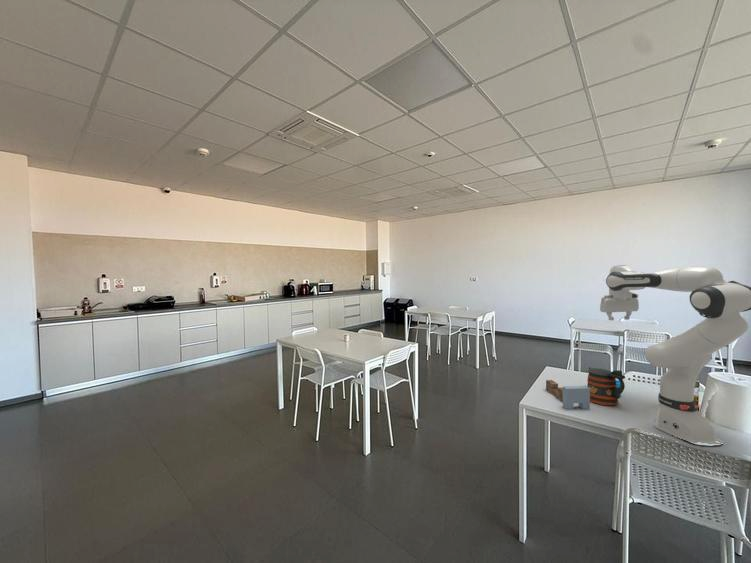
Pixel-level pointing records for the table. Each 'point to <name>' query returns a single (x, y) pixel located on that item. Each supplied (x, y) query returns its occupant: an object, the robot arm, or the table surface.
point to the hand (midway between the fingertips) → (618, 320)
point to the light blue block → (576, 396)
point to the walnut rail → (554, 389)
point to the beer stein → (605, 386)
